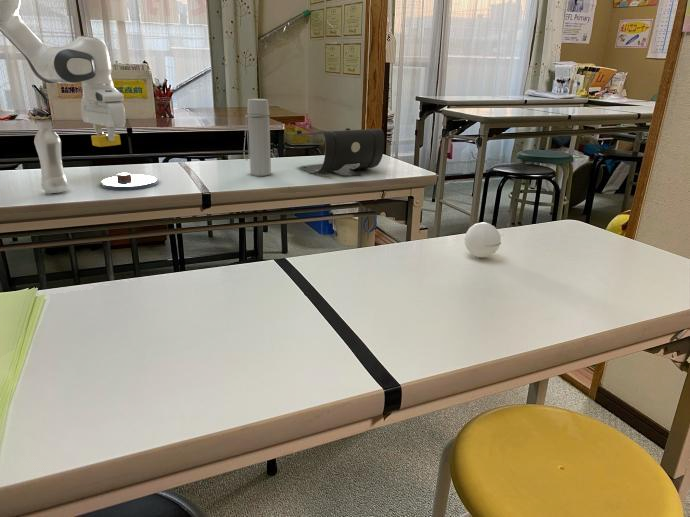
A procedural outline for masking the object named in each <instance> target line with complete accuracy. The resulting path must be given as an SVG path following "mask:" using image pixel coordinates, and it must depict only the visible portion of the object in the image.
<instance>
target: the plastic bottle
mask: <svg viewBox="0 0 690 517" xmlns="http://www.w3.org/2000/svg"><path fill="white" fill-rule="evenodd" d="M35 124H36V129H37V130H38V131H37V132H36V134H35V136H34V140H33V143H34V146H35V150H36V153H37V155H38V159H39V165H40V171H41V178H40V179H41V180H40V181H41V182H40V184H41V188H42V190H43V191H44V192H45V193H47V194H48V193H49V194H59V193H63V192H66V191H67V190H68V188H69V182H68V178H67V176H66V173H65V169H64V166H63V157H62V140H61V137H60V136H59V135H58V134H57V133H56V132H55V130H53V128H54V126H53V122H52V121H51V120H37V121H35Z"/></svg>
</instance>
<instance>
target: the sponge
mask: <svg viewBox="0 0 690 517" xmlns="http://www.w3.org/2000/svg"><path fill="white" fill-rule="evenodd" d="M106 135H107V133H104V134H103V135H97V134H94V135H90V137H91V138H90V139H91V144H92V146H94V147H98V148H104V147H112V146H121V145H122V142H121V135H120V134H116V133H114V141H108V140H107V137H106Z"/></svg>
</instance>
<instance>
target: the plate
mask: <svg viewBox="0 0 690 517" xmlns="http://www.w3.org/2000/svg"><path fill="white" fill-rule="evenodd" d="M157 184H158V178H156V177H155V176H151V175H146V174H131V179H127V180H119V179H117V175H116V176H112V177H107V178H104V179H103V180H101V187H102V188H104V189H106V190H112V191H134V190H143V189H149V188H151V187H154V186H156V185H157Z"/></svg>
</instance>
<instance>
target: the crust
mask: <svg viewBox="0 0 690 517" xmlns="http://www.w3.org/2000/svg"><path fill="white" fill-rule="evenodd" d="M131 175H132V173H128V172H121V173H118V174H116V176H117V179H119V180H127V179H131Z"/></svg>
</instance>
